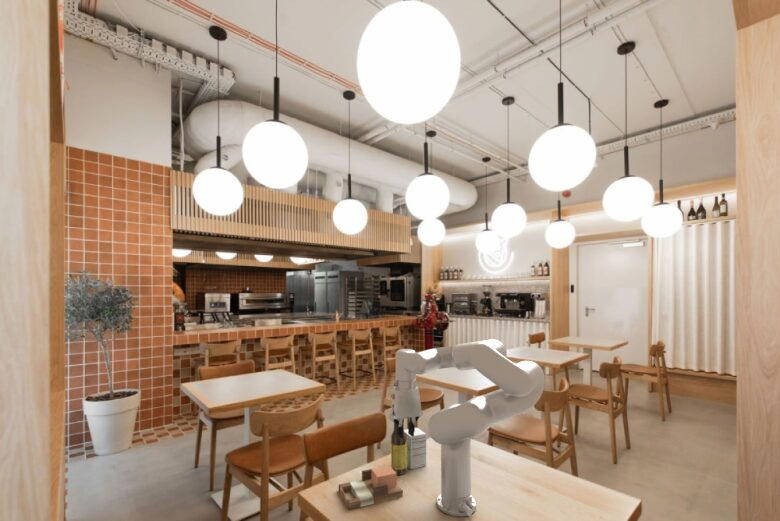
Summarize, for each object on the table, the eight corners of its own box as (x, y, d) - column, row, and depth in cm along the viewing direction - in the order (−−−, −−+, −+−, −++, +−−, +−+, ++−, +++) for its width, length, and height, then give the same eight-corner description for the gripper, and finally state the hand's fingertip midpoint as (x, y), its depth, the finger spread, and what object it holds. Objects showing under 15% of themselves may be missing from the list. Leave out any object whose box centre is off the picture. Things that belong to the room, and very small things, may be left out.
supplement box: (401, 461, 148) (401, 429, 149) (417, 458, 151) (417, 426, 152) (410, 470, 141) (410, 436, 142) (426, 466, 144) (426, 433, 145)
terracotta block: (396, 486, 126) (396, 473, 126) (377, 491, 123) (377, 477, 123) (389, 478, 131) (389, 465, 132) (371, 482, 129) (371, 469, 129)
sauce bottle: (410, 472, 139) (410, 418, 141) (397, 477, 136) (397, 422, 137) (400, 465, 145) (401, 414, 146) (387, 469, 141) (388, 417, 143)
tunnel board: (402, 496, 123) (402, 481, 124) (348, 509, 116) (348, 493, 116) (388, 479, 134) (388, 465, 135) (338, 490, 127) (338, 475, 127)
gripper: (388, 389, 126) (388, 444, 125) (430, 384, 133) (431, 436, 131) (380, 383, 133) (380, 435, 132) (421, 379, 140) (421, 428, 138)
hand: (405, 435), depth 132 cm, fingers open, 3 cm apart
